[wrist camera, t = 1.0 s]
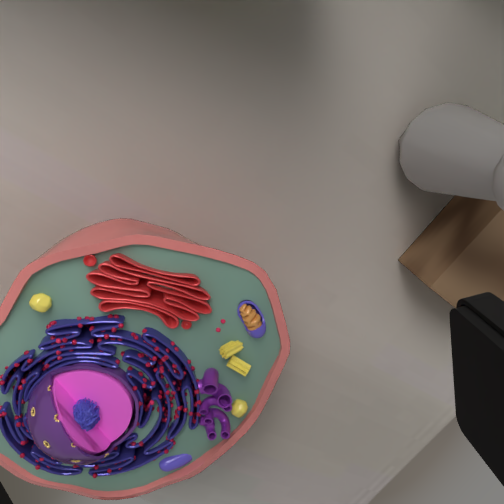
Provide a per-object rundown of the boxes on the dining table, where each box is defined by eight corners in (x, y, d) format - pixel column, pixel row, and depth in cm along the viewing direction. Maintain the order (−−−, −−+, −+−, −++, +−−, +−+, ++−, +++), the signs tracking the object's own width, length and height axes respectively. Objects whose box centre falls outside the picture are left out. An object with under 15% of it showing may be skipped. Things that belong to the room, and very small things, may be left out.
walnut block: (481, 165, 34) (528, 180, 29) (553, 234, 37) (606, 257, 32) (398, 260, 36) (429, 287, 31) (472, 318, 38) (511, 351, 34)
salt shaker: (437, 82, 31) (595, 87, 19) (480, 145, 33) (647, 185, 21) (370, 143, 32) (480, 184, 20) (415, 201, 34) (540, 270, 22)
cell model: (307, 333, 37) (355, 436, 27) (91, 446, 38) (55, 588, 28) (201, 143, 31) (208, 179, 20) (-54, 285, 32) (-173, 389, 21)
